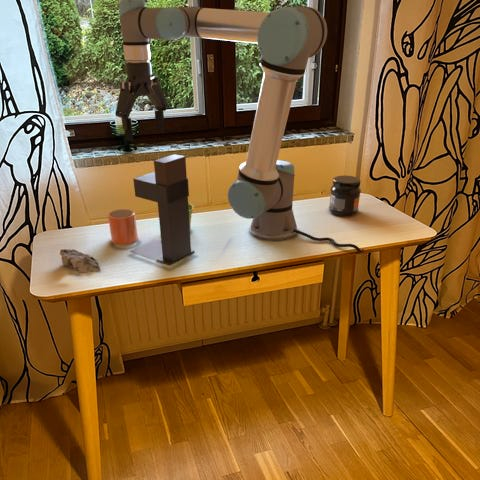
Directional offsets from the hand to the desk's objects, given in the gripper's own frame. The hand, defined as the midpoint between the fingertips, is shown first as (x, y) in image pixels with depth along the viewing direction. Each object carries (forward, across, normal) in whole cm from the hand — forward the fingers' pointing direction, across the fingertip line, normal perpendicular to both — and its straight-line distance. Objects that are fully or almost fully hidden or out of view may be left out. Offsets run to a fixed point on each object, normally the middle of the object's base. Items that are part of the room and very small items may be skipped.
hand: (145, 136), depth 160 cm
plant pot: (+29, +2, +14) cm, 32 cm away
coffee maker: (+29, +18, +21) cm, 40 cm away
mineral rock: (+29, +38, +8) cm, 48 cm away
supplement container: (+29, -47, +49) cm, 74 cm away
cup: (+29, +18, +6) cm, 35 cm away
